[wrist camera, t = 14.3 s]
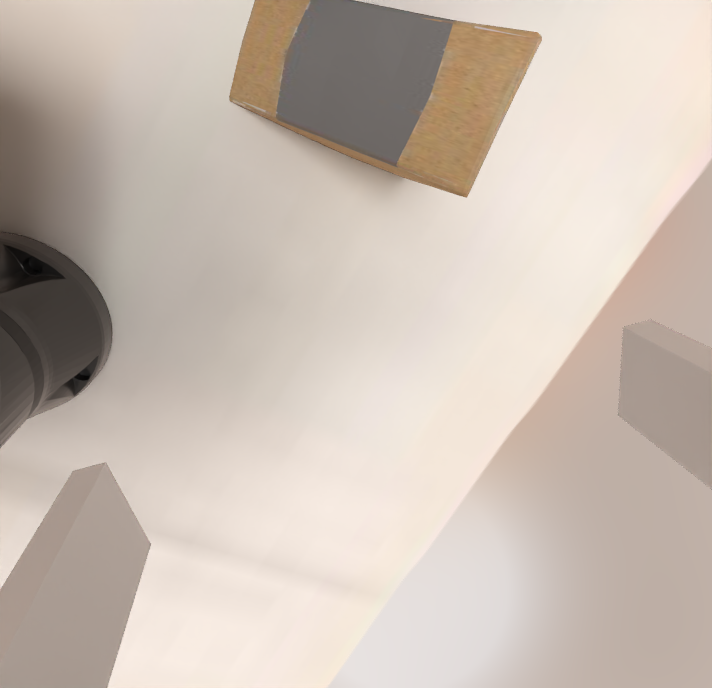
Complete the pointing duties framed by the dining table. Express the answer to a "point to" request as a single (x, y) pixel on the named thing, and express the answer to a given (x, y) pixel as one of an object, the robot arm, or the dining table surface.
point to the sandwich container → (384, 83)
